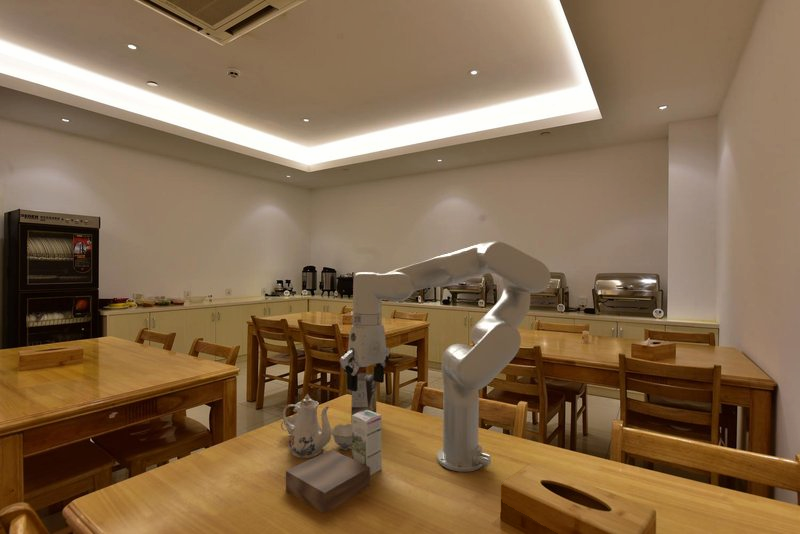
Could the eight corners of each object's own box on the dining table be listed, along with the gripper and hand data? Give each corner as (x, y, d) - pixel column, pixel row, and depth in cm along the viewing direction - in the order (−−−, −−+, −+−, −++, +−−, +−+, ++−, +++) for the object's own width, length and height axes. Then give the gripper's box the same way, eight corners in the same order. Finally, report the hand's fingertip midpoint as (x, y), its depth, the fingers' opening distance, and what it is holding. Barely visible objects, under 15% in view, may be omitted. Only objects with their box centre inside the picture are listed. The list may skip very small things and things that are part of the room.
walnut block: (369, 487, 96) (370, 467, 96) (324, 516, 85) (324, 493, 85) (331, 468, 105) (331, 449, 105) (285, 491, 94) (285, 470, 94)
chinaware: (368, 448, 119) (370, 391, 120) (342, 469, 103) (345, 403, 105) (288, 434, 128) (292, 381, 130) (253, 451, 113) (258, 391, 114)
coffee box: (369, 431, 127) (370, 380, 127) (350, 429, 128) (350, 379, 128) (377, 420, 136) (377, 373, 136) (359, 418, 137) (359, 371, 137)
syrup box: (382, 469, 104) (382, 413, 103) (365, 478, 99) (366, 420, 99) (367, 461, 107) (368, 408, 107) (350, 470, 103) (351, 414, 103)
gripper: (352, 325, 94) (351, 397, 94) (399, 318, 107) (398, 381, 107) (331, 321, 99) (330, 390, 99) (379, 315, 112) (378, 376, 112)
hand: (365, 385), depth 103 cm, fingers open, 9 cm apart
